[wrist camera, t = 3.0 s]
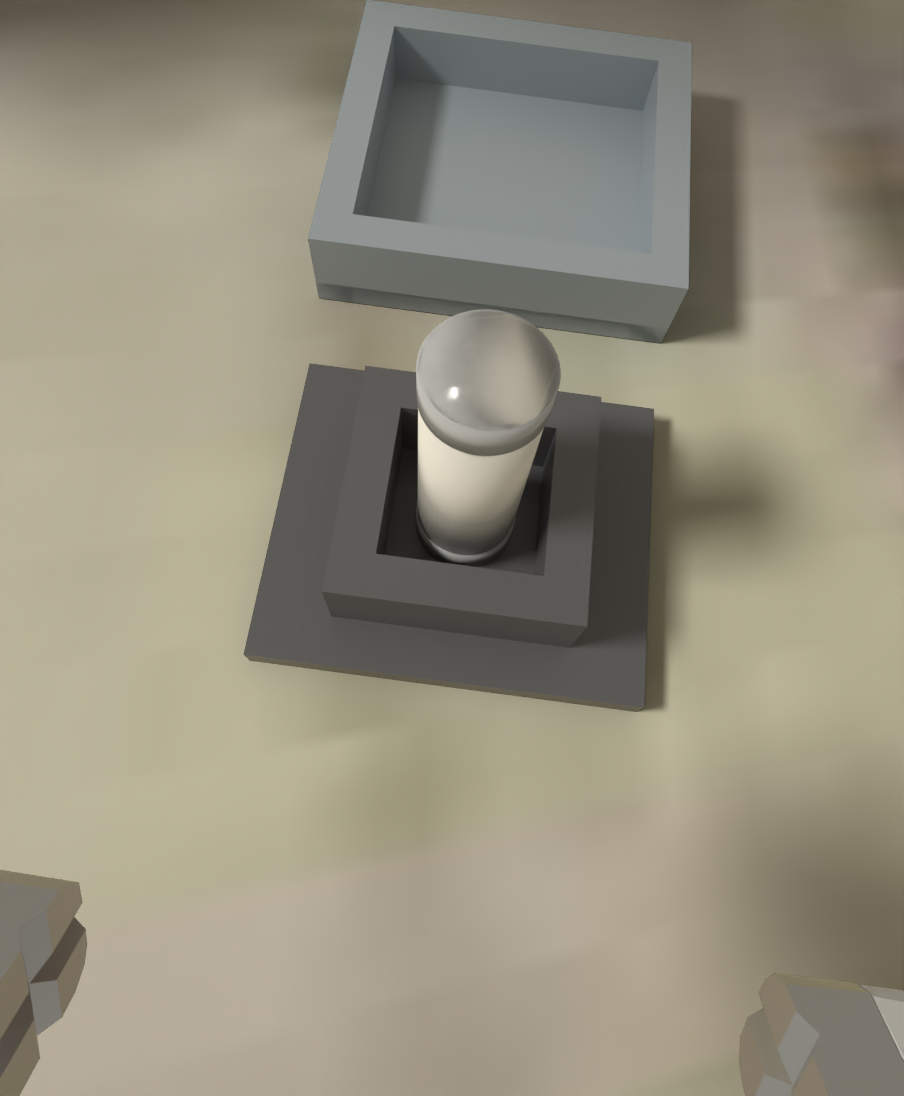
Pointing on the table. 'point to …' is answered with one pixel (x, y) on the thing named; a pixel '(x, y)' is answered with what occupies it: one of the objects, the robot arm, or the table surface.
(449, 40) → the parts tray
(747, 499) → the table surface
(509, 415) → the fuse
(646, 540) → the fuse holder
